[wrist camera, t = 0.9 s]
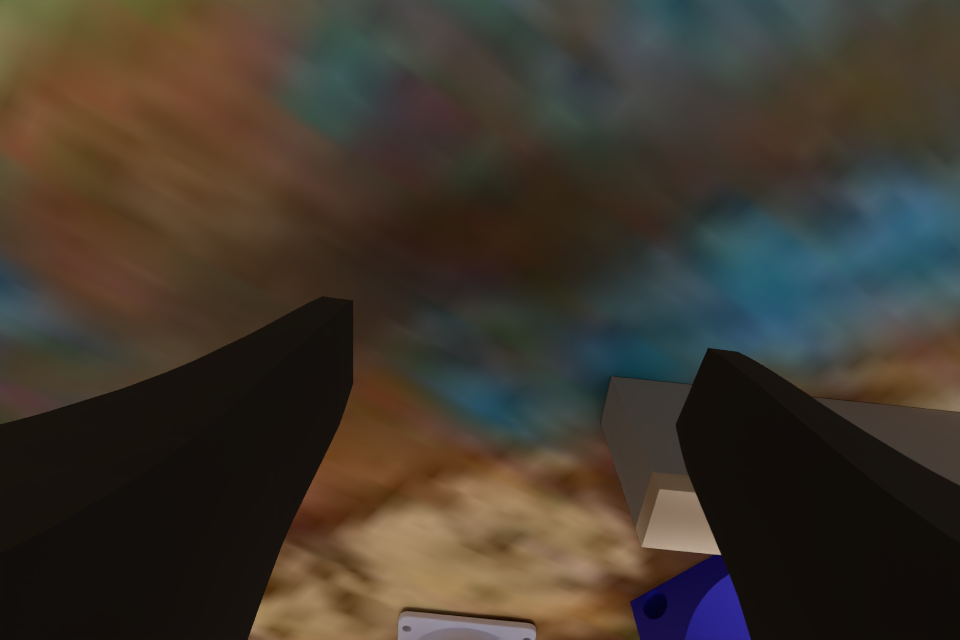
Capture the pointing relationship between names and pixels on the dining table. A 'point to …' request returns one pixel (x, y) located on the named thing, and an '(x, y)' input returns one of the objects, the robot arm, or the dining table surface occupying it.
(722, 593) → the blue half-round bracket
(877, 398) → the dining table surface
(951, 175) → the dining table surface
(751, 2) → the dining table surface
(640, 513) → the wall board
